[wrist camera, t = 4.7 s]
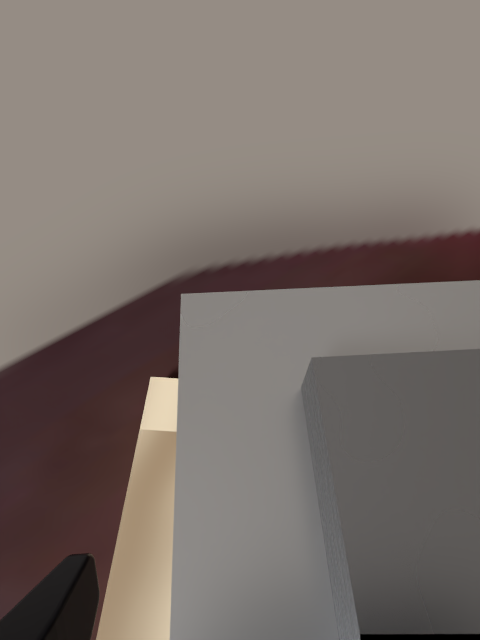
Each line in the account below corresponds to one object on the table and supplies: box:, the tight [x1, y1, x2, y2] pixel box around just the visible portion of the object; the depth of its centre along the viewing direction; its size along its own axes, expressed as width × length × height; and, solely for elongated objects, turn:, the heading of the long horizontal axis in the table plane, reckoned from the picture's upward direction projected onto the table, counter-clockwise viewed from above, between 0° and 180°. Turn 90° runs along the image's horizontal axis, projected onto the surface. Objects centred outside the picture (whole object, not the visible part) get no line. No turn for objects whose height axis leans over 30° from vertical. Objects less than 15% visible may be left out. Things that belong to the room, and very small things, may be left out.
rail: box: [96, 377, 178, 640], centre depth 13 cm, size 24×12×1 cm, turn 86°
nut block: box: [170, 280, 480, 640], centre depth 8 cm, size 5×5×14 cm
